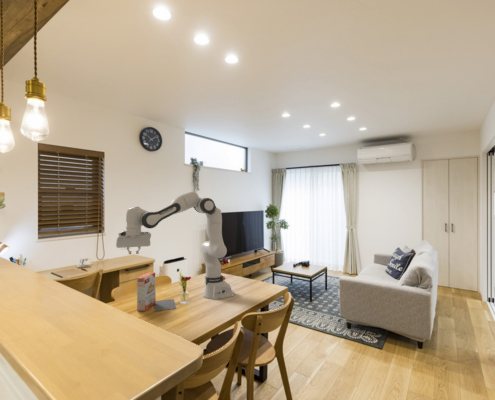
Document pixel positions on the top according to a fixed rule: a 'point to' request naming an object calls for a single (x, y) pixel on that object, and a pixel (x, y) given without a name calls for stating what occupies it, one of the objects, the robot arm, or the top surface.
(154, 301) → the cracker box
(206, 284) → the robot arm
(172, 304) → the mat
